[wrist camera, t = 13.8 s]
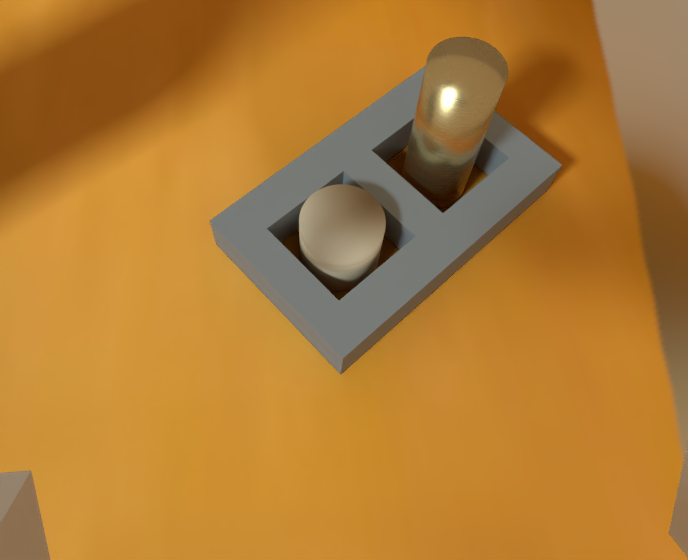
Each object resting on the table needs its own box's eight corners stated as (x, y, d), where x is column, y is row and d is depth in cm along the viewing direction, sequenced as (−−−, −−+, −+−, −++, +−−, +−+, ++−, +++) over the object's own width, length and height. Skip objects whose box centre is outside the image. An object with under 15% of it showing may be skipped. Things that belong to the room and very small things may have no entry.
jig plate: (216, 243, 42) (209, 220, 39) (425, 90, 48) (431, 61, 46) (340, 374, 39) (342, 358, 36) (547, 190, 45) (562, 165, 42)
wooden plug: (283, 252, 42) (280, 217, 38) (341, 207, 44) (344, 169, 40) (337, 306, 40) (340, 276, 36) (394, 257, 42) (403, 224, 38)
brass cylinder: (387, 178, 45) (409, 63, 35) (431, 144, 46) (464, 24, 36) (434, 220, 44) (470, 112, 34) (477, 183, 45) (524, 70, 35)
